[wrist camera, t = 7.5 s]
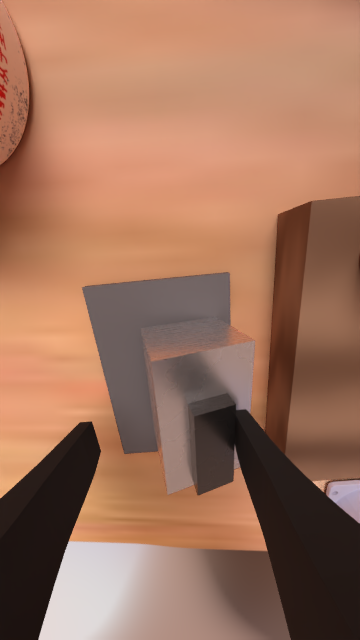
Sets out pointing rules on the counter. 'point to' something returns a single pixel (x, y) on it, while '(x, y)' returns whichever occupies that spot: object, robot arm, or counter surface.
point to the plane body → (317, 339)
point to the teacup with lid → (11, 87)
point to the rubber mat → (126, 340)
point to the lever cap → (197, 398)
